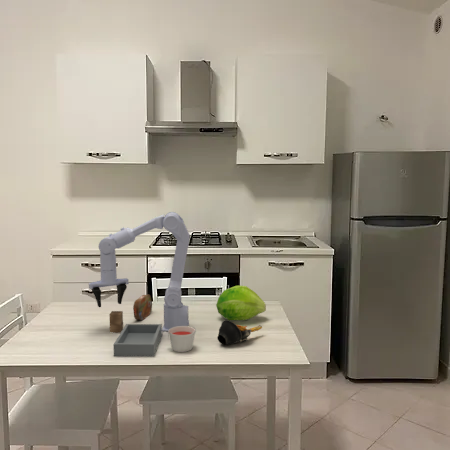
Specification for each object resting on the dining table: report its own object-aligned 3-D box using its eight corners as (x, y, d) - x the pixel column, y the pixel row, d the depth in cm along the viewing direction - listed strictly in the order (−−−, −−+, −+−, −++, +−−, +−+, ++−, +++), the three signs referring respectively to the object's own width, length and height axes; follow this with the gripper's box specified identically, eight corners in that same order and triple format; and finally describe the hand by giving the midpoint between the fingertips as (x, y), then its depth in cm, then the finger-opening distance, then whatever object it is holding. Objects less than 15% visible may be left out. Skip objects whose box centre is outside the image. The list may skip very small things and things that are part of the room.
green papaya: (265, 326, 182) (266, 292, 181) (213, 325, 184) (214, 291, 182) (265, 314, 198) (266, 282, 196) (217, 313, 199) (217, 281, 198)
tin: (139, 323, 186) (139, 302, 185) (132, 322, 187) (131, 301, 186) (152, 311, 201) (152, 292, 200) (145, 311, 201) (145, 292, 200)
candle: (191, 342, 166) (191, 324, 165) (198, 351, 157) (198, 333, 156) (166, 345, 163) (166, 327, 162) (171, 355, 154) (171, 336, 154)
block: (123, 329, 179) (122, 311, 178) (120, 332, 175) (120, 314, 174) (112, 329, 179) (112, 311, 178) (109, 332, 175) (109, 314, 174)
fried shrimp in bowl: (207, 330, 164) (238, 304, 176) (222, 357, 165) (252, 329, 177) (223, 327, 157) (254, 300, 169) (239, 355, 158) (269, 326, 170)
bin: (161, 334, 173) (161, 324, 172) (153, 356, 153) (153, 344, 152) (126, 334, 173) (126, 323, 172) (113, 356, 153) (113, 344, 152)
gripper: (123, 265, 182) (124, 299, 184) (85, 269, 175) (87, 305, 177) (130, 268, 176) (130, 304, 178) (91, 273, 169) (92, 310, 171)
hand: (109, 305), depth 177 cm, fingers open, 7 cm apart
